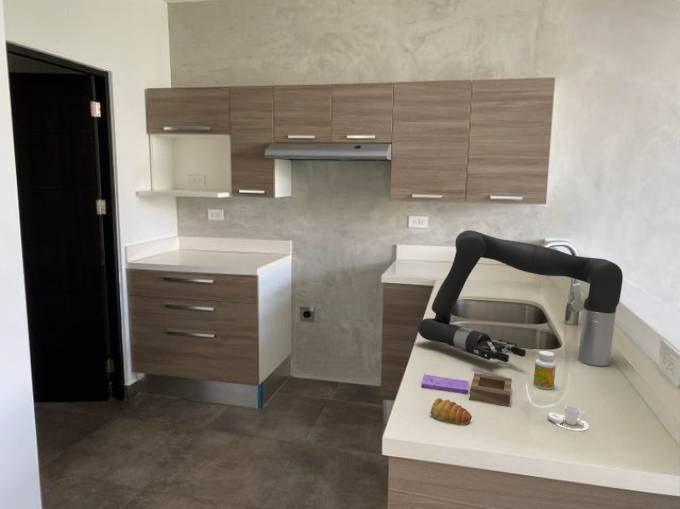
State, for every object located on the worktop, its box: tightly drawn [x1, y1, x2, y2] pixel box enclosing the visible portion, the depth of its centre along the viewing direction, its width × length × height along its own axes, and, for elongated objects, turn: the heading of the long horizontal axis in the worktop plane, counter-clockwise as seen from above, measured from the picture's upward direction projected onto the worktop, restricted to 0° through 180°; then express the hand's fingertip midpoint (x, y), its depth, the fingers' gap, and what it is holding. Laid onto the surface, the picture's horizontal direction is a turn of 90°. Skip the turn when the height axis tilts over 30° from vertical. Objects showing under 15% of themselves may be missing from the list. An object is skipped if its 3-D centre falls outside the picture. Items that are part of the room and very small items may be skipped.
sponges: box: [421, 373, 469, 395], centre depth 142 cm, size 7×13×2 cm, turn 75°
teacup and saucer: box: [547, 405, 590, 432], centre depth 123 cm, size 9×8×4 cm
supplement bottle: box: [532, 350, 557, 391], centre depth 144 cm, size 5×5×10 cm
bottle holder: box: [469, 372, 513, 407], centre depth 138 cm, size 12×10×3 cm
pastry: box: [429, 397, 473, 425], centre depth 123 cm, size 9×7×4 cm
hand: (516, 356), depth 151 cm, fingers open, 8 cm apart
